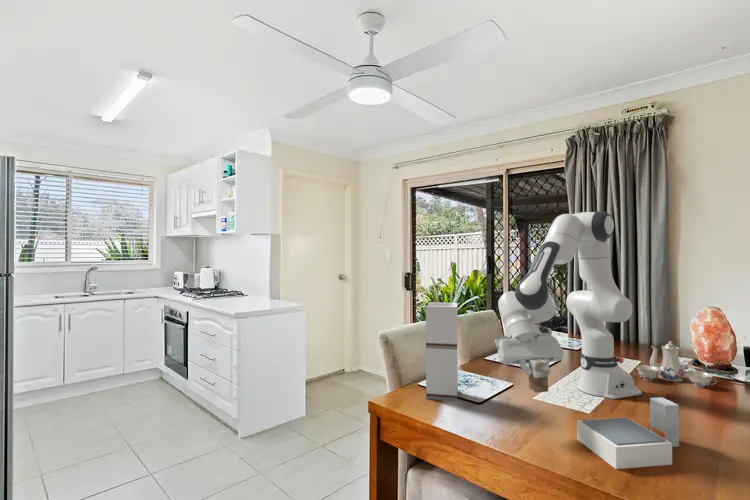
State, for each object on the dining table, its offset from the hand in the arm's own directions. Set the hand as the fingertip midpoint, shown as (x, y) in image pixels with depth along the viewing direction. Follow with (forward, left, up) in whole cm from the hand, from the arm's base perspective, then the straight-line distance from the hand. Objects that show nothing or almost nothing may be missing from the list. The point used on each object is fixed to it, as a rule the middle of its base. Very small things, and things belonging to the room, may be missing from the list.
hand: (539, 374), depth 122 cm
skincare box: (-33, +10, -18) cm, 39 cm away
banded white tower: (+20, -35, -18) cm, 44 cm away
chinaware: (-80, -37, -18) cm, 90 cm away
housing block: (0, -1, -5) cm, 5 cm away
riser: (-17, +13, -18) cm, 28 cm away
